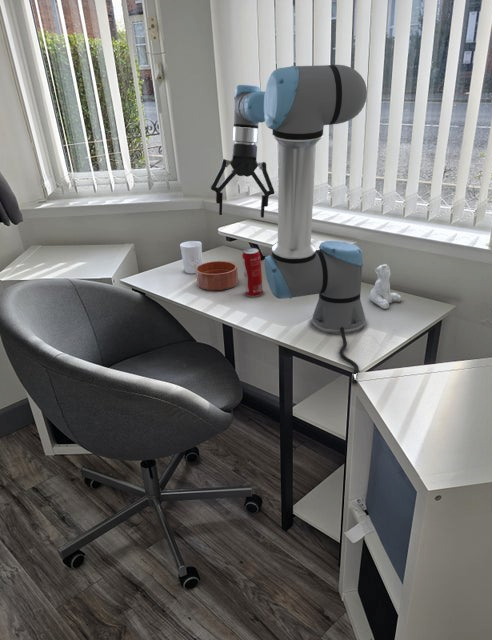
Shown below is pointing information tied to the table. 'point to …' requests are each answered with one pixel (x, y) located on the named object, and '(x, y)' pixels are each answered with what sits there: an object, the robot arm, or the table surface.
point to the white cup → (191, 255)
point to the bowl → (217, 275)
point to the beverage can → (252, 272)
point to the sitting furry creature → (383, 288)
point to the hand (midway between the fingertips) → (241, 215)
